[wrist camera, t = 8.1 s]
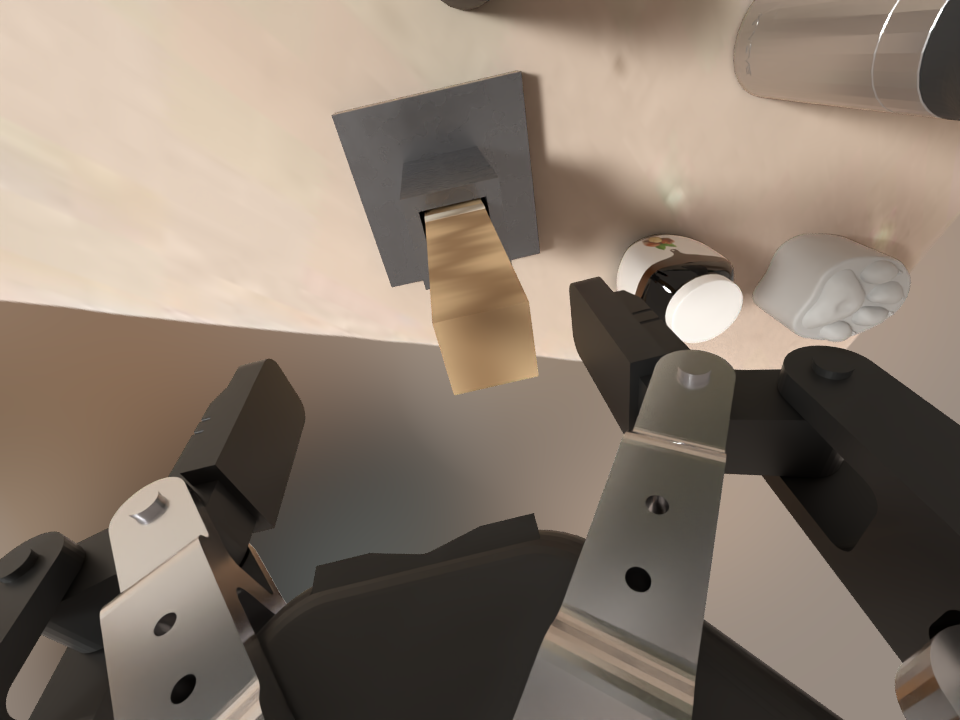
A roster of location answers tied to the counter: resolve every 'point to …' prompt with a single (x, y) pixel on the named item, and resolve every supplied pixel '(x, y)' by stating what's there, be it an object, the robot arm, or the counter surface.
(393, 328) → the counter surface
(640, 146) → the counter surface
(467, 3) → the bottle
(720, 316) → the spread jar
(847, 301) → the lumpy-topped squat cylinder
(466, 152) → the metal sleeve stand
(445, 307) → the oak post
